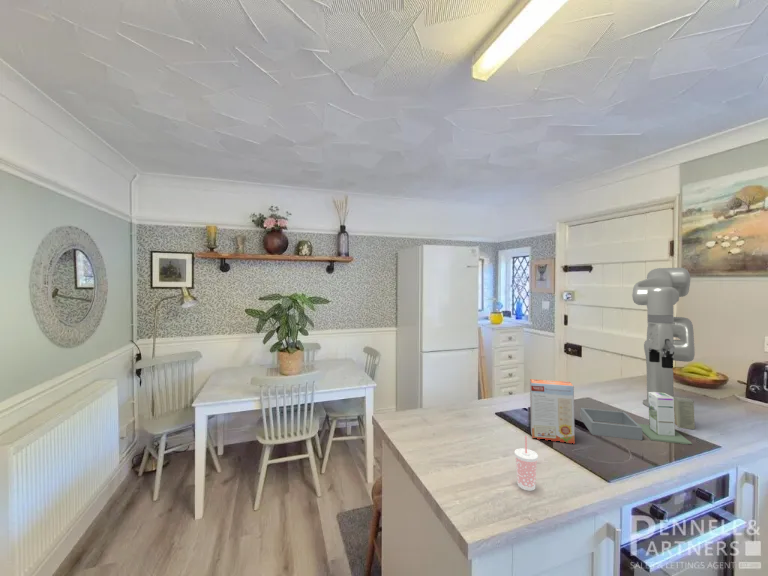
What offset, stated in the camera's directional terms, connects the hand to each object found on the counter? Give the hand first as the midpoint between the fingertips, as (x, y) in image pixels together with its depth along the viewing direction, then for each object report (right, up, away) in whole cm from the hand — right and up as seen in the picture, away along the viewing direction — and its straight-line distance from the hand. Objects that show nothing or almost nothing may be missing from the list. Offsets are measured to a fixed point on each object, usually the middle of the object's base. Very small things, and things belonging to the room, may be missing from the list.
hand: (660, 364), depth 122 cm
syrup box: (0, -26, 0) cm, 26 cm away
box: (+15, -26, +6) cm, 31 cm away
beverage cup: (-65, -27, -31) cm, 77 cm away
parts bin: (-16, -26, +5) cm, 31 cm away
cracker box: (-43, -27, -3) cm, 51 cm away
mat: (0, -26, 0) cm, 26 cm away
